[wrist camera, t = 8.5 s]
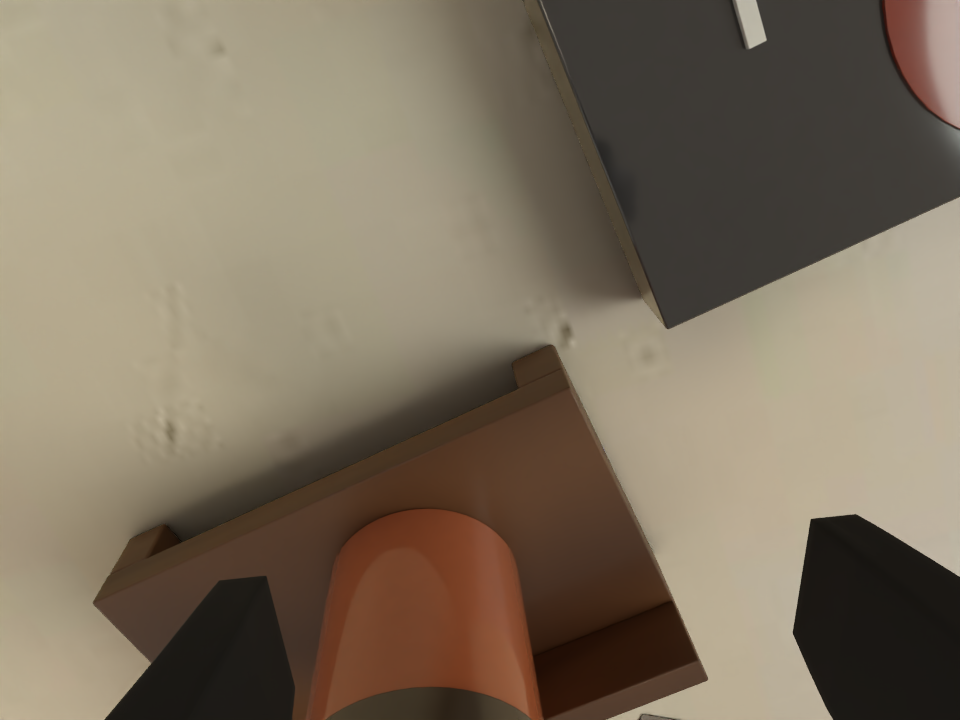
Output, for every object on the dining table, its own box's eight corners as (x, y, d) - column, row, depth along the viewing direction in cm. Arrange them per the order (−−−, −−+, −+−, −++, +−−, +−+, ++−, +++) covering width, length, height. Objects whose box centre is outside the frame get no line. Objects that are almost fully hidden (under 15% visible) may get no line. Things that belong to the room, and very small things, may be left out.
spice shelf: (129, 538, 20) (52, 669, 16) (552, 342, 18) (589, 432, 14) (284, 709, 23) (254, 855, 19) (655, 557, 21) (709, 680, 17)
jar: (286, 554, 17) (223, 793, 12) (470, 472, 17) (491, 686, 11) (386, 680, 19) (370, 933, 14) (552, 612, 19) (604, 849, 13)
